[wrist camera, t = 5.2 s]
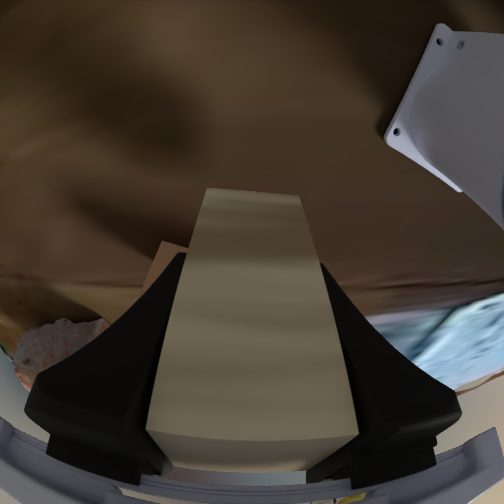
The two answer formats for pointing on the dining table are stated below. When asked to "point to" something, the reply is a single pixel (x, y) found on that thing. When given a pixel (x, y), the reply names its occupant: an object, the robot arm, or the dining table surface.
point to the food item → (52, 346)
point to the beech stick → (251, 345)
